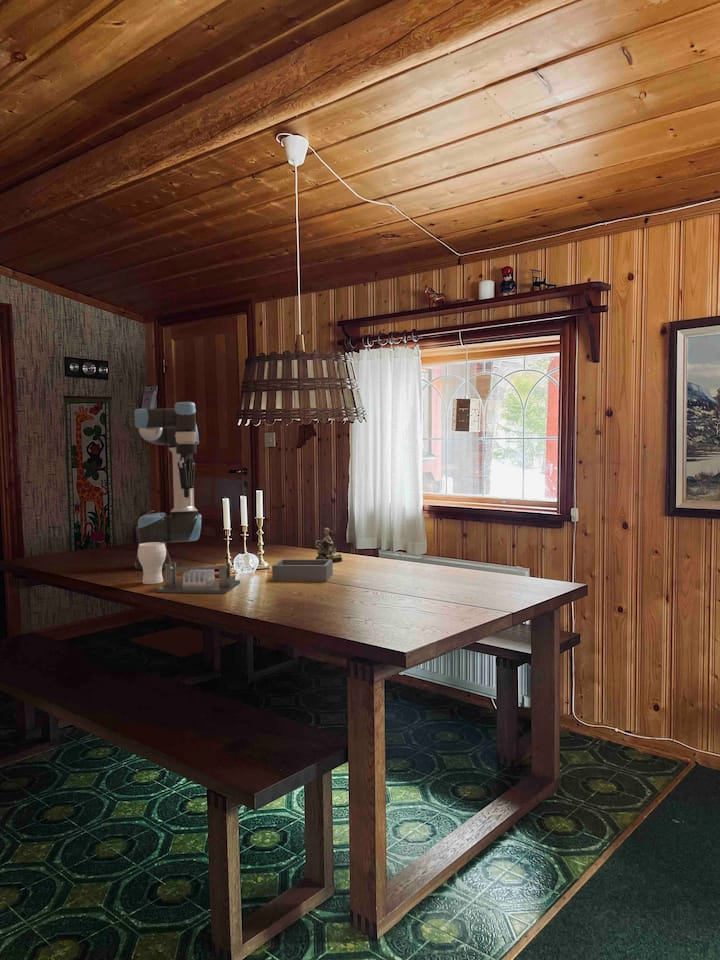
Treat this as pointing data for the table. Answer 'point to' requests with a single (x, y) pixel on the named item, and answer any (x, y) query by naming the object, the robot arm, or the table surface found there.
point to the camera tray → (302, 570)
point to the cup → (152, 561)
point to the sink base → (196, 590)
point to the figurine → (327, 548)
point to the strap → (197, 567)
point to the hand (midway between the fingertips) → (188, 505)
